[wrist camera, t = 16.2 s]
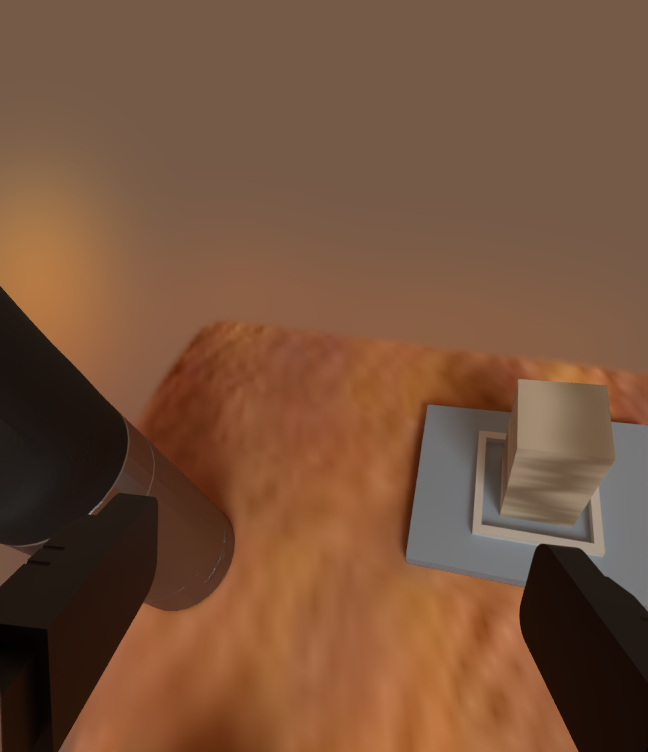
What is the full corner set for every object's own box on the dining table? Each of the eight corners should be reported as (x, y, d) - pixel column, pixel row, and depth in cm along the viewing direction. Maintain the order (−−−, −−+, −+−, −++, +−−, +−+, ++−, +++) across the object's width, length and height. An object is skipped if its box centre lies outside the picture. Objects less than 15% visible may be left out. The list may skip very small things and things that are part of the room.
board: (406, 563, 36) (404, 554, 34) (428, 413, 44) (427, 399, 42) (679, 618, 30) (693, 611, 28) (648, 435, 38) (658, 420, 36)
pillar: (499, 515, 35) (517, 447, 27) (501, 457, 38) (518, 379, 29) (572, 527, 34) (615, 459, 25) (568, 465, 36) (606, 385, 28)
